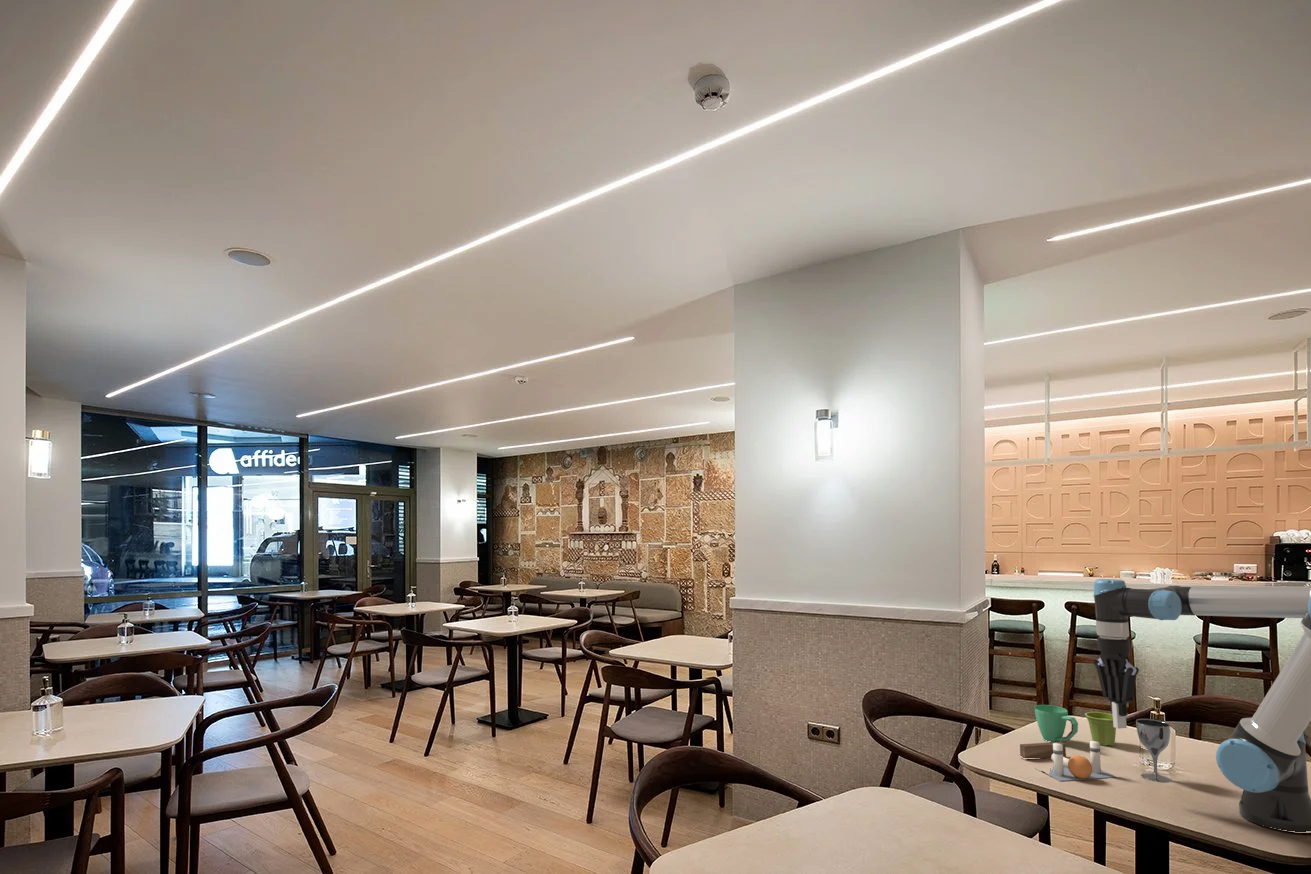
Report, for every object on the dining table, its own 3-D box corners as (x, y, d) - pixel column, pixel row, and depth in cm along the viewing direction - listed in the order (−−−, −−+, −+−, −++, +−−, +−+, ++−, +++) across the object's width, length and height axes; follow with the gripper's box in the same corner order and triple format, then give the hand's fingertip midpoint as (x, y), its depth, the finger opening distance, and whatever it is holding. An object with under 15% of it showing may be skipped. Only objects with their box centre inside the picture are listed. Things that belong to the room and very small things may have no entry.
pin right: (1103, 774, 207) (1101, 743, 208) (1095, 774, 207) (1094, 743, 208) (1096, 771, 210) (1094, 740, 211) (1088, 771, 209) (1087, 741, 210)
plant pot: (1082, 743, 235) (1080, 715, 236) (1091, 737, 242) (1090, 710, 243) (1115, 750, 229) (1113, 721, 229) (1124, 743, 235) (1122, 716, 236)
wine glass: (1178, 784, 200) (1175, 727, 202) (1146, 781, 202) (1143, 725, 204) (1165, 773, 208) (1161, 719, 210) (1134, 771, 210) (1131, 717, 211)
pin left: (1066, 776, 205) (1064, 745, 206) (1058, 777, 205) (1056, 746, 206) (1059, 773, 208) (1058, 742, 209) (1052, 774, 207) (1050, 743, 208)
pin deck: (1116, 777, 205) (1116, 776, 205) (1060, 781, 202) (1059, 780, 202) (1089, 765, 215) (1089, 764, 215) (1035, 768, 212) (1035, 768, 212)
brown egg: (1080, 766, 209) (1098, 777, 203) (1064, 774, 207) (1082, 786, 202) (1077, 748, 208) (1095, 758, 202) (1061, 756, 206) (1079, 767, 201)
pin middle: (1082, 769, 210) (1059, 759, 218) (1079, 761, 210) (1056, 751, 218) (1075, 773, 209) (1052, 763, 217) (1073, 765, 209) (1050, 755, 217)
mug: (1028, 737, 241) (1026, 706, 242) (1051, 734, 244) (1049, 703, 245) (1066, 751, 227) (1064, 718, 228) (1089, 748, 230) (1088, 715, 231)
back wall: (1065, 757, 221) (1065, 743, 222) (1024, 760, 219) (1024, 746, 219) (1061, 755, 223) (1060, 741, 224) (1020, 757, 221) (1019, 744, 221)
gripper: (1145, 640, 192) (1152, 733, 189) (1106, 633, 204) (1112, 720, 202) (1120, 641, 190) (1128, 735, 187) (1082, 634, 203) (1089, 721, 200)
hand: (1120, 727), depth 195 cm, fingers closed
